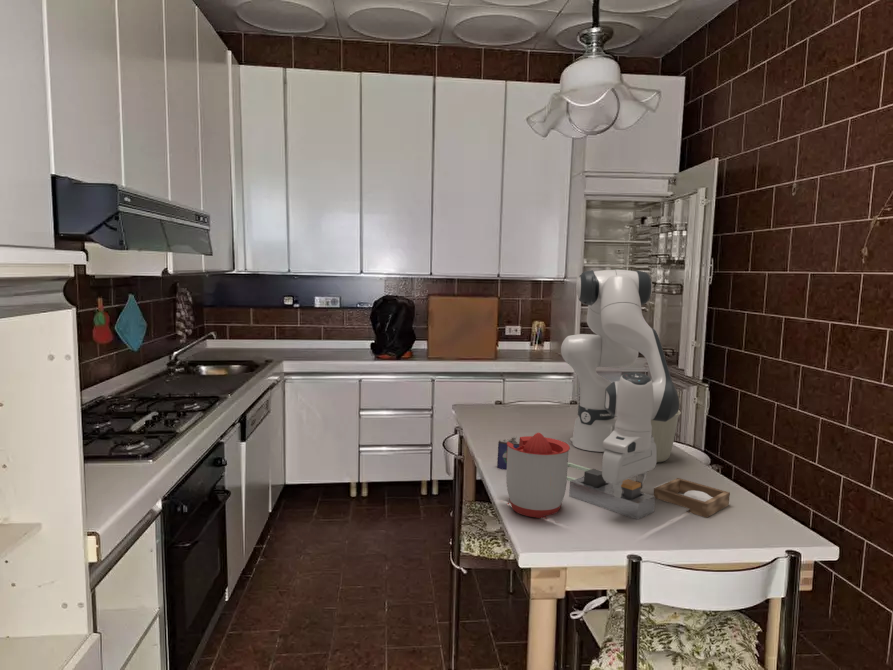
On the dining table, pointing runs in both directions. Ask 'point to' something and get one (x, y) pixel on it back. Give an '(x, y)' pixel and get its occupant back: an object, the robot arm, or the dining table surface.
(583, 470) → the tray
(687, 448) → the dining table surface
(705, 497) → the garlic
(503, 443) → the blue box
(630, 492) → the plug
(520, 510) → the citrus juicer
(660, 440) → the canister
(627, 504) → the grey socket block
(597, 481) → the twin plug
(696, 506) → the garlic corral
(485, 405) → the dining table surface
